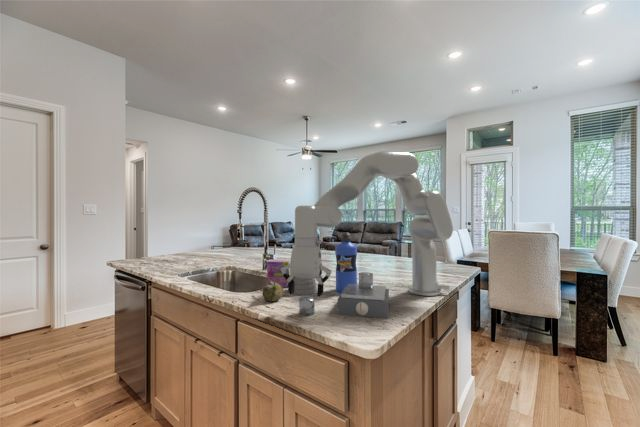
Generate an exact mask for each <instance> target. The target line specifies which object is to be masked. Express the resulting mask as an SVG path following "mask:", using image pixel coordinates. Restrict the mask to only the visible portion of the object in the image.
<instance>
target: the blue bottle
mask: <svg viewBox="0 0 640 427" xmlns="http://www.w3.org/2000/svg"><path fill="white" fill-rule="evenodd" d="M341 236H342V237H340V243H339V244H337V245H335V246H334V247H335V252H334V253H335V259H336V265H335V266H336V267H335V291H336V293H339V294H341V293H342V292H343V290H344V289H345V287H346V286H347V285H348V284H355V285H358V269H357V254H358V246H357V245H355V244H354V243H352V242H351V241H352V237H351V234H350V233H349V232H348V231H345V232H342V234H341Z"/></svg>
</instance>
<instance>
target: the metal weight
mask: <svg viewBox="0 0 640 427" xmlns="http://www.w3.org/2000/svg"><path fill="white" fill-rule="evenodd" d="M358 285H359V288H361V289H372V288H373V286H374V274H373V273H372V272H369V271H368V272H367V271H365V272H364V271H363V272H361V271H360V272H359V273H358Z"/></svg>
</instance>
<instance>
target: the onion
mask: <svg viewBox="0 0 640 427" xmlns="http://www.w3.org/2000/svg"><path fill="white" fill-rule="evenodd" d="M283 294H284V287H282V286H281V285H280V284H278V283H276V282H275V281H274V282H273V281H272V280H270V281H269V284H268V285H267V284H266V285H265V286H264V287H263V289H262V297H263V298H264V299H265V301H267V302H276V301H279V300H280V299H281V298H282V297H283Z"/></svg>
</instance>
